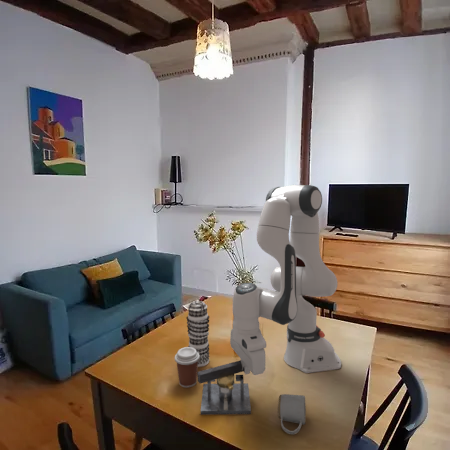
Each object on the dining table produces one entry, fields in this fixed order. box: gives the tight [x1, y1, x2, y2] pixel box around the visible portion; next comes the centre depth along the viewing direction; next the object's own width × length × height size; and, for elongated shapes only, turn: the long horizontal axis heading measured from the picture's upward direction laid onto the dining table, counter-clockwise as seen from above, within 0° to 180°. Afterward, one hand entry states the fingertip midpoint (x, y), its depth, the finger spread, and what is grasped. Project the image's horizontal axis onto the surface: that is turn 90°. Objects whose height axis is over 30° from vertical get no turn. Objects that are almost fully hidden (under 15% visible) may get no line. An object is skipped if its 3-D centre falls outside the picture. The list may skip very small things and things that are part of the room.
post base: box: [200, 374, 252, 416], centre depth 111 cm, size 16×14×8 cm
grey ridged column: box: [185, 300, 210, 368], centre depth 133 cm, size 9×9×25 cm
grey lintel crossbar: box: [197, 360, 244, 390], centre depth 110 cm, size 19×9×6 cm, turn 114°
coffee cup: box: [174, 346, 200, 388], centre depth 120 cm, size 9×9×12 cm
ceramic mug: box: [277, 393, 307, 435], centre depth 100 cm, size 11×8×8 cm
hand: (246, 372), depth 110 cm, fingers closed
